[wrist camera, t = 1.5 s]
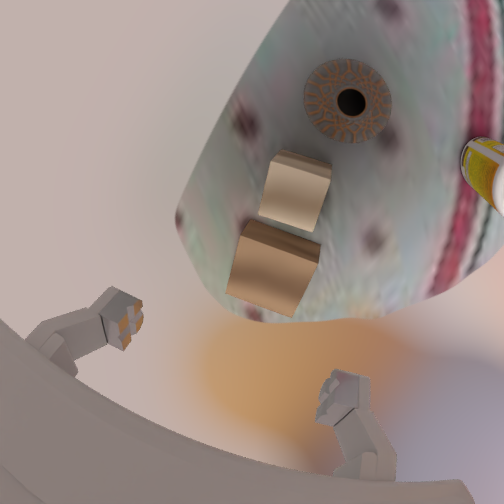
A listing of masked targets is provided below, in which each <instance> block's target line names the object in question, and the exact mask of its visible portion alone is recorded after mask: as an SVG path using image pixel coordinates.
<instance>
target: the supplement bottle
mask: <svg viewBox="0 0 504 504" xmlns="http://www.w3.org/2000/svg"><path fill="white" fill-rule="evenodd" d="M461 171H462V174H463V177H464V179H465V180H466V182H467V183H468V184H469V185H470V186H471V187H472V188H473V189H474V190H475V191H477V192H478V193H479V194H480V195H481V196H482V197H483V198H484V199H485V200H486V201H487V202H488V203H489V204H490V205H492V206H493V207H494V208H495V209H496V210H497V211H498V212H499V213H500V214H501V215H502V216H503V217H504V145H503V144H501V143H499V142H497V141H495V140H492V139H490V138H487V137H476V138H474V139H472V140H471V141H469V142H468V143H467V145H466V146H465V148H464V150H463V152H462V155H461Z"/></svg>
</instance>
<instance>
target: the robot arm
mask: <svg viewBox="0 0 504 504" xmlns="http://www.w3.org/2000/svg"><path fill="white" fill-rule="evenodd" d="M142 307H143V305H142V300H140V299H137V298H135V297H133V296H131V295H129V294H127V293H125V292H123V291H121V290H119V289H117V288H115V287H113V286H112V287H109V288H108V289H107V290H106V291H105V292H104V293H103V294H102V295H101V296H100V297H99V298H98V299H97V300H96V301H95V302H94V303H93V304H92V305H91V306H90V307H89V309H87V308H83V309H80V310H77V311H73V312H70V313H67V314H64V315H61V316H58V317H54V318H52V319H48V320H45V321H42V322H41V323H40V324H39V325H38V326H37V327H36V328H35V329H34V330H33V331H32V332H31V333H30V334H29V336H28V337H27V338H26V339H25V340H24V339H23V338H21V337H20V336H19V335H18V334H17V333H16V332H15V331H13V330H12V329H11V328H10V327H9V326H8V325H7V324H6V323H4V322H3V321H2V320H1V319H0V504H475V502H474V499H473V497H472V495H471V494H470V492H469V490H468V489H467V487H466V486H465V484H464V483H463V481H461V480H458V479H457V480H454V479H453V480H441V481H421V482H395V479H396V462H397V454H396V452H395V450H394V448H393V447H392V445H391V443H390V441H389V440H388V438H387V436H386V434H385V432H384V430H383V429H382V427H381V426H380V423H379V422H378V420H377V418H376V416H375V415H374V413H373V412H371V411H370V378H369V377H367V376H362V375H358V374H355V373H351V372H346V371H343V370H339V369H334V370H333V371H332V372H331V376H330V378H328V379H326V380H325V382H324V383H323V385H322V388H321V391H320V394H319V401H320V403H321V405H320V406H319V407H318V408H317V412H316V418H315V422H316V423H320V424H324V425H329V426H333V429H334V431H335V434H336V437H337V439H338V442H339V444H340V447H341V450H342V452H343V455H344V458H345V461H346V463H345V464H343V465H341V466H339V467H338V468H336V469H335V470H334V472H333V476H326V475H320V474H314V473H308V472H303V471H298V470H293V469H288V468H284V467H279V466H275V465H271V464H267V463H263V462H260V461H256V460H252V459H249V458H246V457H242V456H239V455H236V454H232V453H229V452H226V451H223V450H220V449H218V448H215V447H212V446H209V445H206V444H204V443H201V442H198V441H196V440H193V439H191V438H188V437H186V436H183V435H181V434H178V433H176V432H174V431H172V430H169V429H167V428H165V427H163V426H160V425H158V424H156V423H154V422H152V421H150V420H148V419H146V418H144V417H142V416H140V415H138V414H136V413H134V412H132V411H130V410H128V409H126V408H124V407H123V406H121V405H119V404H117V403H115V402H114V401H112V400H110V399H108V398H107V397H105V396H103V395H101V394H100V393H98V392H97V391H95V390H93V389H91V388H90V387H88V386H87V385H85V384H84V383H82V382H81V381H79V380H78V379H76V378H75V376H76V375H77V373H78V369H77V367H76V365H75V363H74V360H76V359H78V358H80V357H82V356H84V355H87V354H89V353H91V352H92V351H95V350H97V349H99V348H101V347H103V346H105V345H107V343H108V344H110V345H112V346H114V347H116V348H118V349H120V350H122V351H124V350H125V349H126V347H127V346H128V345H129V343H130V342H131V335H134V334H136V333H137V332H138V331H139V330H140V328H141V325H142V323H143V318H144V317H143V313H142V311H141V308H142Z"/></svg>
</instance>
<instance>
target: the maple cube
mask: <svg viewBox="0 0 504 504" xmlns="http://www.w3.org/2000/svg"><path fill="white" fill-rule="evenodd" d="M331 170H332V165H331V164H328V163H325V162H322V161H319V160H315V159H312V158H309V157H306V156H303V155H299V154H296V153H293V152H289V151H286V150H282V149H281V150H280V151H279V152H278V154H277V155H276V156H275V157H274V158H273V159H272V160H271V162H270V166H269V170H268V174H267V178H266V182H265V186H264V191H263V195H262V199H261V203H260V207H259V211H258V215H260V216H264V217H267V218H270V219H273V220H276V221H279V222H282V223H285V224H288V225H291V226H295V227H298V228H301V229H304V230H307V231H310V232H313V230H314V227H315V225H316V222H317V219H318V216H319V213H320V210H321V208H322V205H323V202H324V199H325V196H326V193H327V190H328V187H329V184H330V181H331Z"/></svg>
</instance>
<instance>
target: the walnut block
mask: <svg viewBox="0 0 504 504" xmlns="http://www.w3.org/2000/svg"><path fill="white" fill-rule="evenodd" d="M320 247H321V245H320V244H317V243H315V242H312V241H309V240H307V239H304V238H301V237H299V236H296V235H293V234H291V233H288V232H285V231H282V230H280V229H277V228H274V227H271V226H268V225H266V224H263V223H260V222H257V221H254V220H252V219H250V221H249V222H248V224H247V226H246V227H245V229H244V230H243V232H242V233H241V235H240V238H239V242H238V246H237V250H236V254H235V258H234V262H233V265H232V269H231V273H230V277H229V281H228V285H227V289H226V294H229V295H231V296H234V297H237V298H239V299H242V300H244V301H247V302H250V303H252V304H255V305H258V306H260V307H263V308H266V309H269V310H271V311H274V312H277V313H279V314H282V315H285V316H288V317H291V318H292V316H293V314H294V312H295V310H296V308H297V306H298V304H299V302H300V300H301V298H302V296H303V294H304V292H305V290H306V288H307V286H308V284H309V282H310V280H311V278H312V276H313V274H314V271H315V269H316V267H317V265H318V261H319V254H320Z"/></svg>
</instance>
